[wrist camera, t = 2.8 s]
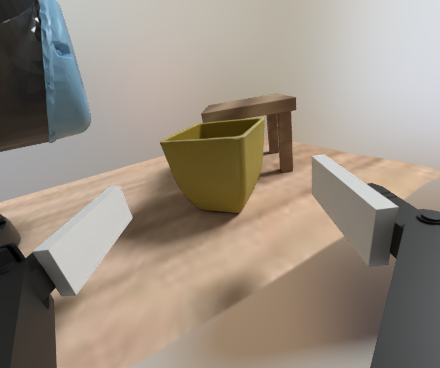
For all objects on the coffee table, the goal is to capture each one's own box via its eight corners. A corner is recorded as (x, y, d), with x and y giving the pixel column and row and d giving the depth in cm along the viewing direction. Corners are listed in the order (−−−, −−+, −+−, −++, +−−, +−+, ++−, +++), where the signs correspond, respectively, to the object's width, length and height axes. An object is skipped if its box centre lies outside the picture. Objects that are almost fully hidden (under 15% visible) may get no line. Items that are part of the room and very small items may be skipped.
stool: (214, 183, 32) (201, 113, 28) (218, 158, 43) (208, 105, 39) (297, 171, 31) (295, 97, 27) (279, 148, 42) (276, 93, 38)
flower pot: (271, 186, 28) (265, 115, 25) (254, 226, 21) (243, 135, 17) (210, 185, 32) (198, 123, 28) (179, 218, 25) (156, 141, 21)
